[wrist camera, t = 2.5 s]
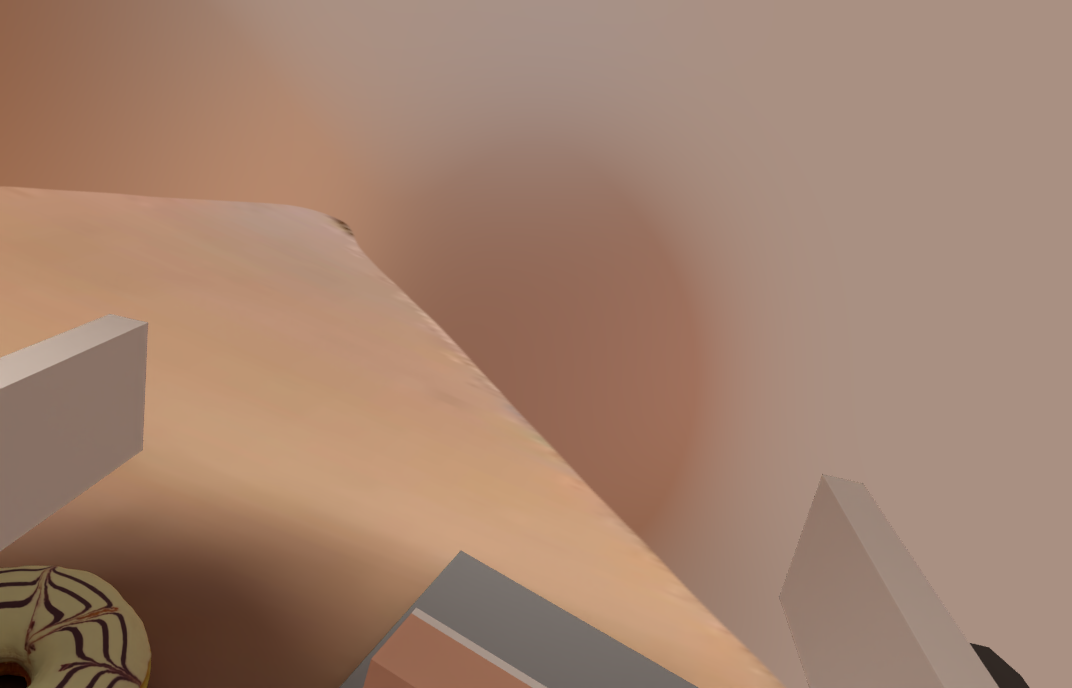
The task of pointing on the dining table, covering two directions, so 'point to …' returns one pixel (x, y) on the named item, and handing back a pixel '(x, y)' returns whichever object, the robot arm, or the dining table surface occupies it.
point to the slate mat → (527, 633)
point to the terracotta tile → (439, 660)
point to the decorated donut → (69, 631)
